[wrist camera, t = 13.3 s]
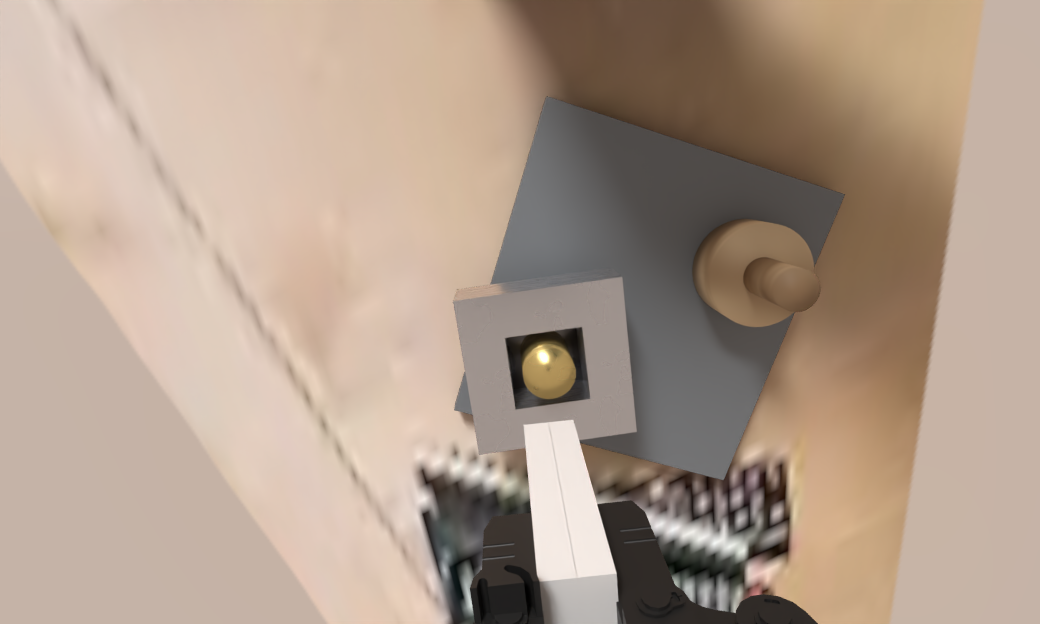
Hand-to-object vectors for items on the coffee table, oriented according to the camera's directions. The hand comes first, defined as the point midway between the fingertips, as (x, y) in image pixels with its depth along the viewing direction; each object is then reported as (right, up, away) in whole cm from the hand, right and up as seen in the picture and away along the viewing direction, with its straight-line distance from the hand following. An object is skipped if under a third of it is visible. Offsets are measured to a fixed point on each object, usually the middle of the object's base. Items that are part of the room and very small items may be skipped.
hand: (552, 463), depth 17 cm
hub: (0, +3, +19) cm, 19 cm away
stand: (+13, +7, +18) cm, 23 cm away
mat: (+7, +5, +19) cm, 21 cm away
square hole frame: (0, +2, +17) cm, 17 cm away
